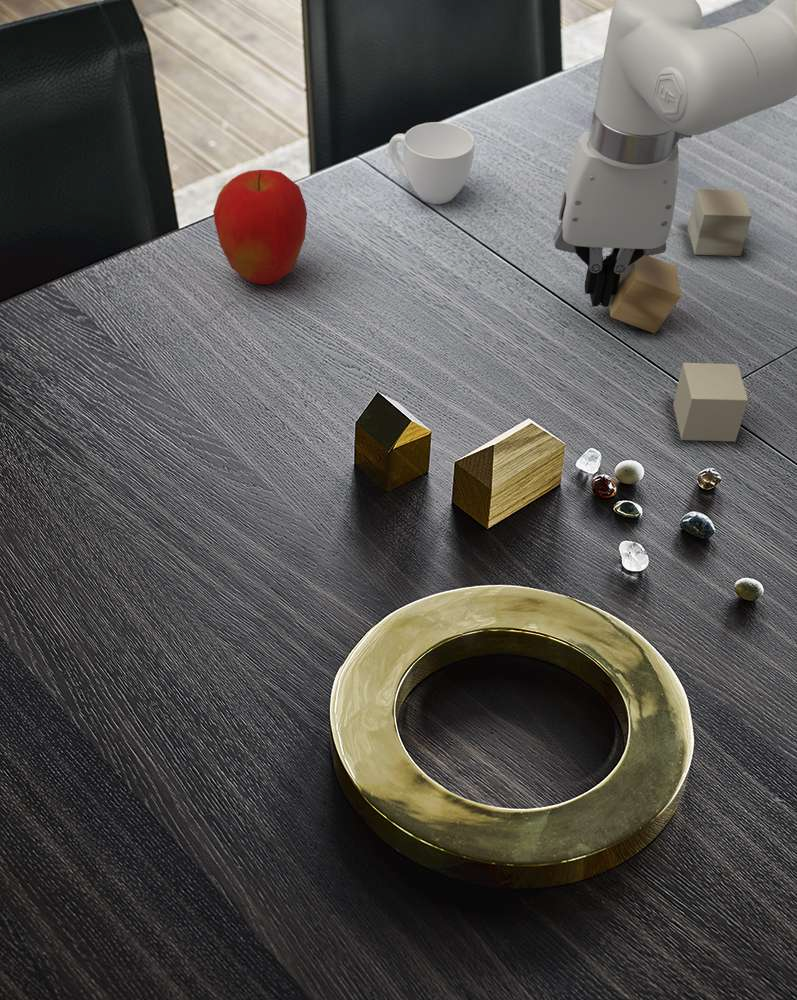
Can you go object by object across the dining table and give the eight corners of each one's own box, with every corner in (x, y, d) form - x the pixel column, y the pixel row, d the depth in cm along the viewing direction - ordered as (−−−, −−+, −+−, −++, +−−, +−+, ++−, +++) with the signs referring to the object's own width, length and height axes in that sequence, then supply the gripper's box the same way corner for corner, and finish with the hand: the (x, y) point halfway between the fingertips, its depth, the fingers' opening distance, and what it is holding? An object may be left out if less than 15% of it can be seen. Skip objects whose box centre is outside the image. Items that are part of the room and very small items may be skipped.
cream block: (726, 405, 117) (738, 363, 113) (735, 442, 113) (748, 400, 110) (672, 404, 117) (683, 362, 113) (680, 440, 113) (691, 398, 110)
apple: (280, 240, 133) (276, 138, 125) (325, 283, 128) (324, 179, 120) (202, 267, 130) (193, 163, 121) (246, 312, 125) (239, 207, 116)
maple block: (650, 303, 128) (676, 266, 124) (654, 334, 124) (681, 296, 121) (606, 287, 126) (631, 248, 123) (610, 317, 123) (636, 278, 120)
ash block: (732, 230, 138) (742, 190, 134) (740, 256, 134) (751, 216, 131) (687, 228, 138) (696, 188, 134) (694, 255, 134) (704, 214, 131)
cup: (450, 220, 137) (454, 165, 132) (371, 193, 141) (372, 139, 136) (482, 188, 142) (487, 134, 137) (405, 163, 145) (407, 109, 141)
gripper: (708, 114, 114) (667, 278, 128) (545, 107, 114) (521, 272, 127) (723, 159, 109) (678, 325, 122) (552, 152, 109) (526, 319, 122)
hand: (598, 297), depth 125 cm, fingers closed
